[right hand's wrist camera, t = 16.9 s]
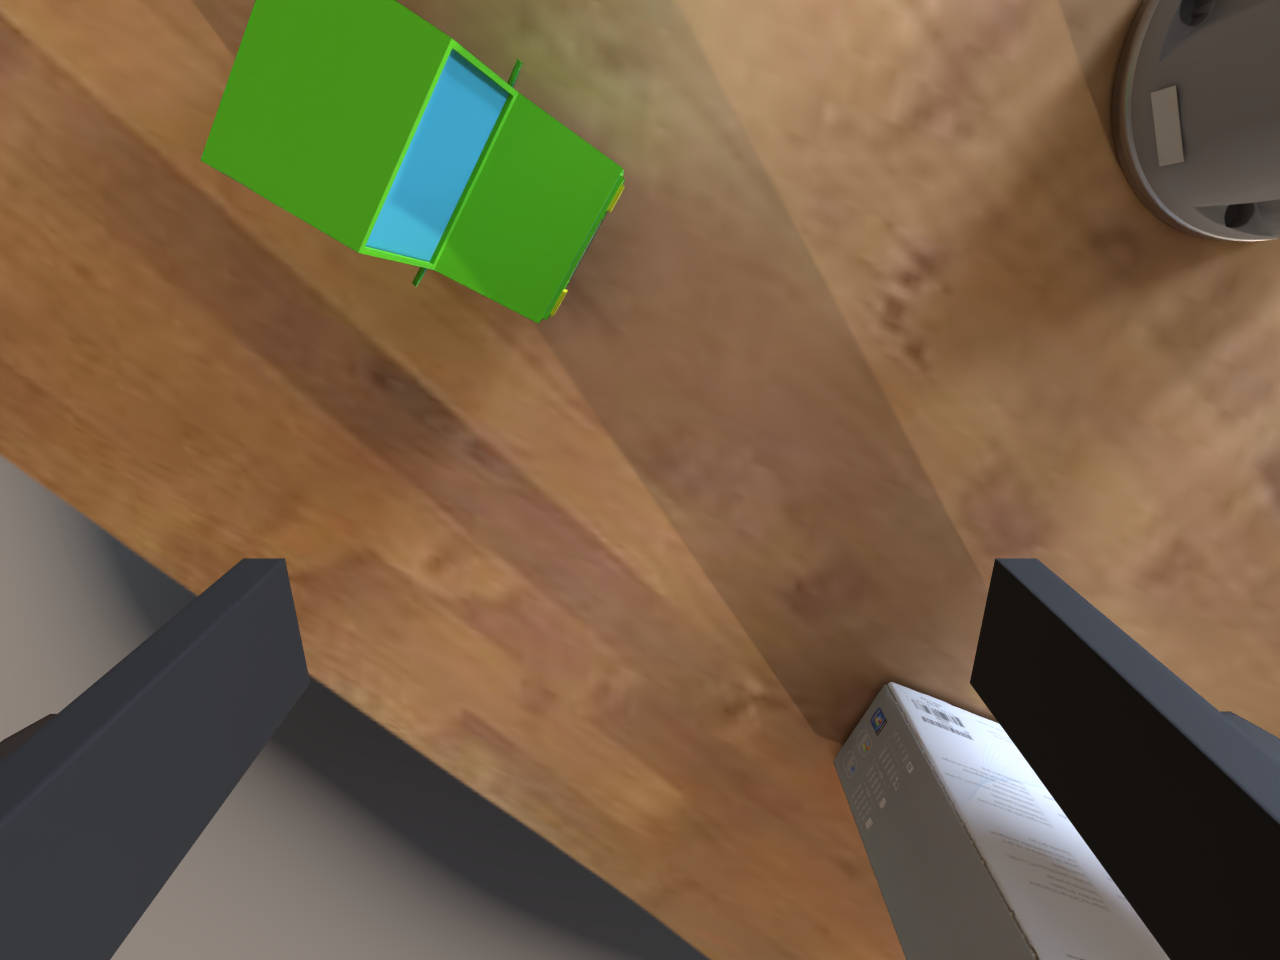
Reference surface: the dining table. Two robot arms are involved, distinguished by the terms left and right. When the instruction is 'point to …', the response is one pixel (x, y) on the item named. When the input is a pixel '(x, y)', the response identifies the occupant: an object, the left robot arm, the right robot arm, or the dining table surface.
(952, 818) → the hard drive box
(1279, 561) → the dining table surface
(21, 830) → the right robot arm
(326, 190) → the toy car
